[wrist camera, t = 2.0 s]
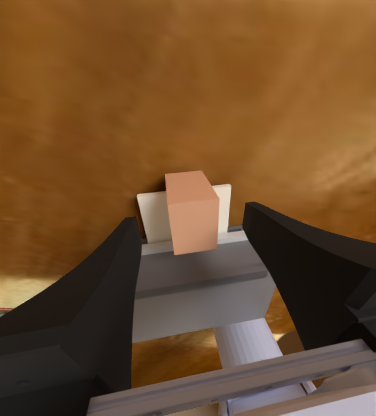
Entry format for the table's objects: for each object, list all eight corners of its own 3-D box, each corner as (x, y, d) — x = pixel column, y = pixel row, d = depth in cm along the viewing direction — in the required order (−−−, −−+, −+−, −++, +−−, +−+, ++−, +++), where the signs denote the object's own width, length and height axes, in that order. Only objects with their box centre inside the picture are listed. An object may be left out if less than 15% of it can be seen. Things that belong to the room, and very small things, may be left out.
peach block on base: (222, 272, 21) (237, 313, 17) (158, 282, 20) (158, 328, 16) (230, 167, 14) (260, 193, 10) (133, 177, 13) (121, 210, 9)
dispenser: (241, 270, 23) (264, 317, 18) (136, 287, 22) (129, 343, 16) (249, 219, 18) (284, 262, 13) (118, 237, 17) (101, 292, 12)
